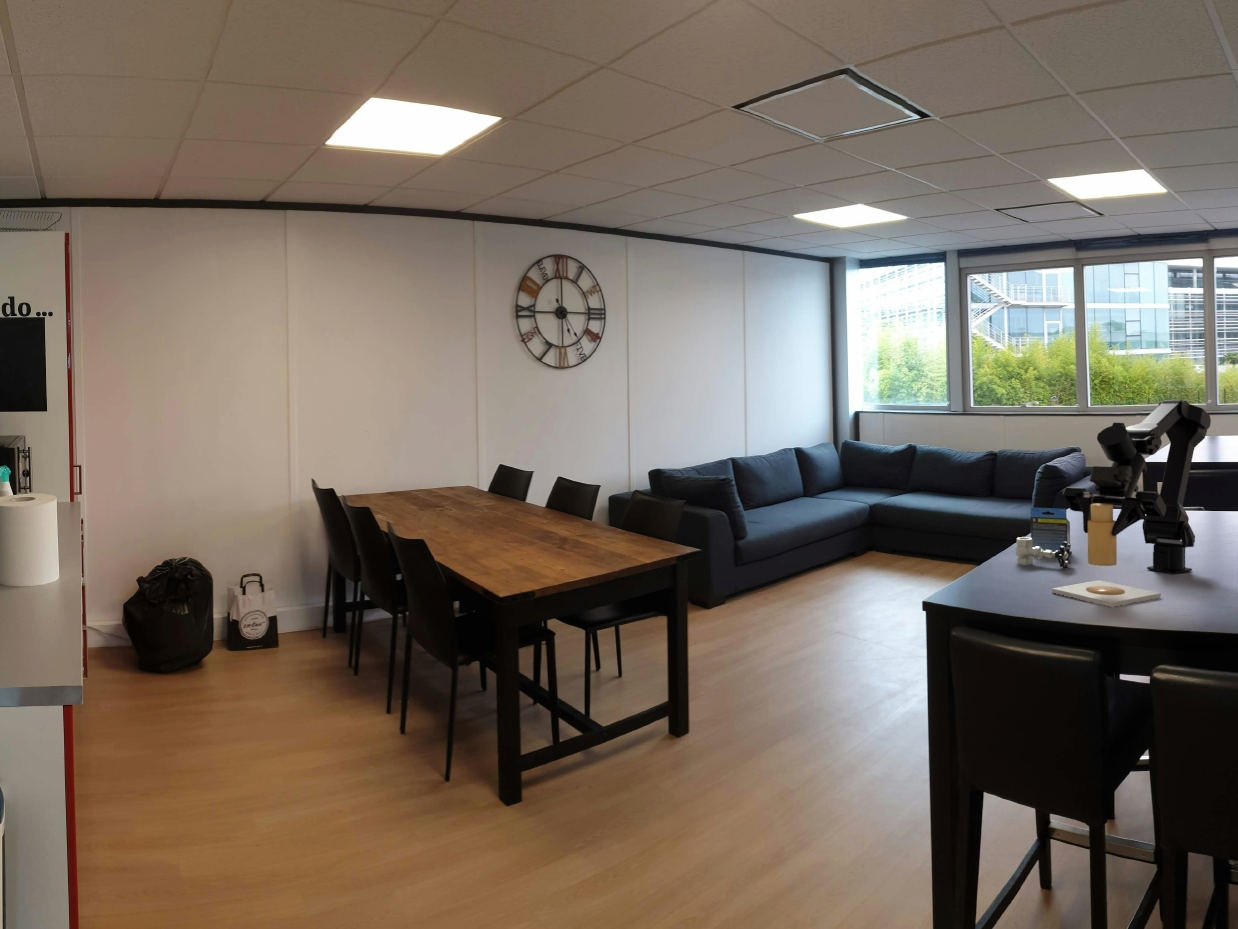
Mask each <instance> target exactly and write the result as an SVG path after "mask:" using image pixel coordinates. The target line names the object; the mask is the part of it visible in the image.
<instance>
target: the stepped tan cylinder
mask: <svg viewBox="0 0 1238 929" xmlns="http://www.w3.org/2000/svg"><path fill="white" fill-rule="evenodd" d="M1115 522H1116V520H1114V506H1113V505H1112V504H1105V503H1096V504H1091V520H1088V533H1087V563H1088V564H1089V565H1093V566H1100V567H1109V566H1110V567H1112V566H1116V565H1117V563H1118V562H1117V559H1118V558H1117V557H1118V556H1117V555H1118V553H1117V551H1118V550H1117V548H1118V547H1117V540H1118V538H1117V535H1116V536H1113V535H1112V529H1113V526H1114V524H1115Z"/></svg>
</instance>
